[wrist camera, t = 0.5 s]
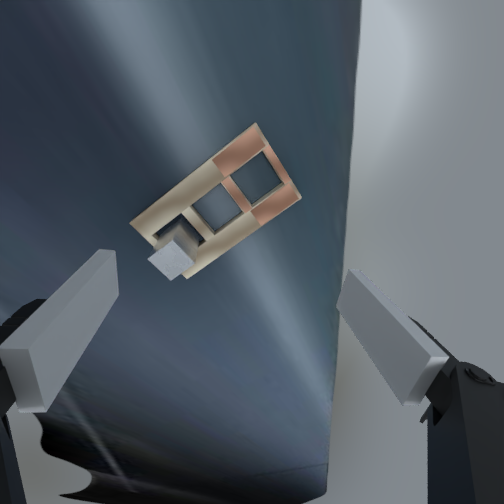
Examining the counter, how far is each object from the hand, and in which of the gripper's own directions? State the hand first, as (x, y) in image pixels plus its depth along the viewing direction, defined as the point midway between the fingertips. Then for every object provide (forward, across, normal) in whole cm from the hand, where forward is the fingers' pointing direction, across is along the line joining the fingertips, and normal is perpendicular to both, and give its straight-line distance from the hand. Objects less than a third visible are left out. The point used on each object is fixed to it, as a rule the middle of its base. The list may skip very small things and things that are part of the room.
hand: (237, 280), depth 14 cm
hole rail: (+25, -1, -3) cm, 25 cm away
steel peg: (+25, -6, -8) cm, 27 cm away
